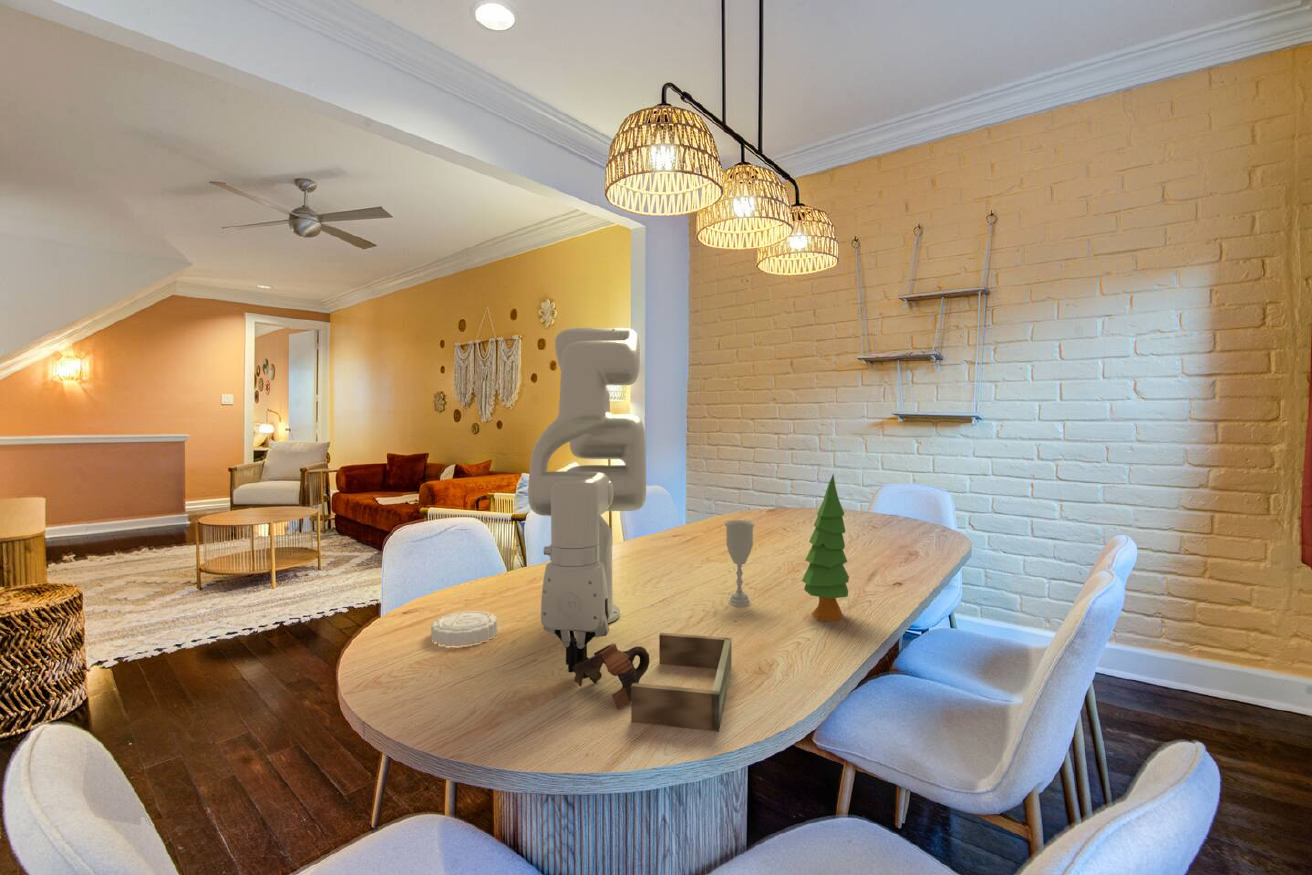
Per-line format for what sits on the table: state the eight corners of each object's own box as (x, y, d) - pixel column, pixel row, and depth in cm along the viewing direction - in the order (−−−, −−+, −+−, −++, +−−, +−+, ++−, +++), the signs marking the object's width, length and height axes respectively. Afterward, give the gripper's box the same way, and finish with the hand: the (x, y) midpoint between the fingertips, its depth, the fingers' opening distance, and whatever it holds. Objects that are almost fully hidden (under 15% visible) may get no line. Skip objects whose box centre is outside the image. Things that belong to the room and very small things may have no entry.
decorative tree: (847, 626, 115) (848, 475, 114) (798, 621, 119) (799, 474, 118) (849, 611, 124) (850, 471, 123) (804, 606, 128) (804, 470, 127)
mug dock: (631, 721, 80) (631, 685, 80) (660, 661, 99) (660, 632, 99) (719, 731, 77) (719, 694, 77) (731, 667, 97) (731, 637, 97)
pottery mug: (604, 721, 81) (578, 665, 82) (582, 723, 88) (559, 671, 90) (670, 677, 87) (645, 626, 89) (644, 682, 95) (622, 635, 97)
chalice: (754, 609, 126) (754, 526, 125) (722, 607, 127) (722, 525, 127) (755, 598, 133) (755, 520, 132) (725, 597, 134) (725, 519, 134)
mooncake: (490, 648, 106) (490, 629, 106) (422, 650, 105) (422, 631, 105) (502, 625, 118) (502, 607, 118) (441, 627, 117) (441, 609, 117)
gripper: (521, 558, 90) (522, 675, 91) (613, 563, 87) (614, 684, 87) (541, 547, 97) (542, 655, 98) (627, 552, 94) (628, 664, 95)
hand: (576, 669), depth 93 cm, fingers closed
